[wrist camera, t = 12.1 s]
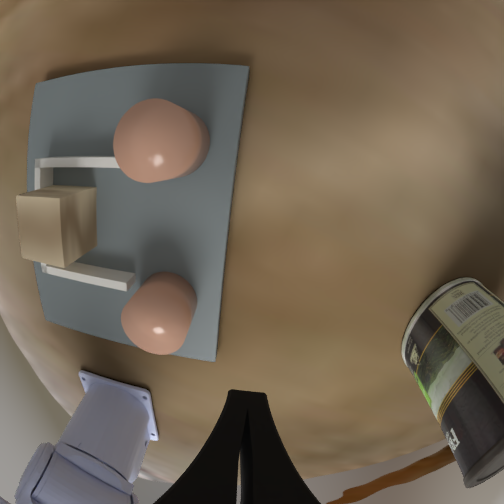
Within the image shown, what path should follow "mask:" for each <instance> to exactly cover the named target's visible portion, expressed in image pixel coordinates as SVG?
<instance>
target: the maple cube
mask: <svg viewBox="0 0 504 504" xmlns="http://www.w3.org/2000/svg"><path fill="white" fill-rule="evenodd" d="M96 195H97V187H86V186H66V185H52V186H48V187H44V188H41V189H37V190H33V191H30V192H27V193H23V194H20V195H17V196H16V205H17V220H18V231H19V240H20V248H21V255H22V258H25V259H28V260H32V261H36V262H41V263H45V264H49V265H53V266H57V267H62V268H66V267H67V266H68V265H70V264H71V263H73V262H74V261H76V260H77V259H78V258H80V257H81V256H83V255H84V254H86V253H87V252H89V251H90V250H92V249H93V248H95V247H96V246H97V219H96Z"/></svg>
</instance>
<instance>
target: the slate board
mask: <svg viewBox="0 0 504 504" xmlns="http://www.w3.org/2000/svg"><path fill="white" fill-rule="evenodd" d="M249 72H250V70H249V66H241V65H228V64H207V63H169V64H148V65H135V66H125V67H116V68H109V69H102V70H95V71H89V72H84V73H78V74H73V75H69V76H64V77H60V78H55V79H51V80H47V81H44V82H40V83H36V86H35V91H34V97H33V104H32V111H31V119H30V128H29V139H28V156H27V192H30V191H33V190H35V159H39V158H46V157H67V156H115V155H114V149H113V140H114V134H115V130H116V128H117V125H118V123H119V121H120V120H121V118H122V116H123V115H124V114H125V113H126V112H127V111H128V110H129V109H130V108H131V107H132V106H134V105H135V104H137V103H139V102H141V101H144V100H147V99H153V98H158V99H164V100H167V101H170V102H172V103H174V104H176V105H178V106H180V107H182V108H184V109H186V110H188V111H190V112H192V113H194V114H196V115H197V116H199V117H200V118H201V119H202V120H203V122H204V123H205V125H206V126H207V129H208V132H209V136H210V146H209V151H208V154H207V157H206V159H205V160H204V162H203V163H202V165H201V166H200V167H199V168H198V169H197V170H196V171H194V172H193V173H191V174H189V175H187V176H184V177H180V178H174V179H169V180H163V181H158V182H153V183H142V182H138V181H135V180H133V179H131V178H130V177H128V176H127V175H126V174H125V173H124V172H123V171H122V170H121V169H120V168H99V167H53V185H66V186H86V187H97V195H96V219H97V246H96V247H95V248H93V249H92V250H90V251H89V252H87V253H86V254H84V255H83V256H81V257H80V258H78V259H77V260H76V261H74V262H77V263H82V264H87V265H92V266H97V267H103V268H108V269H114V270H119V271H125V272H130V273H135V276H136V282H135V283H134V284H133V285H132V286H131V287H130V289H129V290H128V291H122V290H117V289H112V288H108V287H103V286H98V285H94V284H89V283H85V282H80V281H76V280H72V279H68V278H63V277H59V276H55V275H51V274H47V273H43V272H42V268H41V262H36V261H33V262H34V268H35V274H36V279H37V285H38V290H39V294H40V299H41V303H42V307H43V311H44V315H45V319H46V320H47V321H50V322H53V323H55V324H58V325H61V326H64V327H67V328H70V329H74V330H77V331H80V332H83V333H86V334H90V335H93V336H97V337H100V338H104V339H107V340H111V341H115V342H119V343H123V344H127V345H131V346H135V347H138V346H137V345H135V344H134V343H133V342H132V341H131V340H130V339H129V338H128V336H127V335H126V333H125V332H124V329H123V327H122V323H121V313H122V310H123V308H124V306H125V305H126V304H127V302H128V301H129V300H130V299H131V297H132V296H133V295H134V294H135V292H136V291H137V290H138V289H139V287H140V286H141V285H142V284H143V283H144V281H145V280H146V279H147V278H148V277H149V276H151V275H152V274H154V273H157V272H171V273H175V274H177V275H179V276H181V277H183V278H184V279H185V280H187V281H188V282H189V283H190V285H191V286H192V287H193V289H194V291H195V293H196V296H197V309H196V312H195V314H194V317H193V319H192V322H191V325H190V327H189V330H188V333H187V335H186V338H185V341H184V343H183V345H182V346H181V347H180V348H179V349H178V350H177V351H175V352H173V353H170V354H171V355H177V356H182V357H187V358H193V359H199V360H205V361H211V362H215V360H216V355H217V346H218V334H219V322H220V311H221V301H222V290H223V280H224V270H225V260H226V251H227V241H228V232H229V223H230V215H231V206H232V197H233V189H234V181H235V173H236V165H237V157H238V149H239V142H240V134H241V127H242V120H243V113H244V106H245V99H246V92H247V85H248V78H249Z"/></svg>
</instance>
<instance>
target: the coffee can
mask: <svg viewBox="0 0 504 504" xmlns="http://www.w3.org/2000/svg"><path fill="white" fill-rule="evenodd" d="M402 357H403V360H404V362H405V364H406V366H407V367H408V368H409V370H410V371H411V373H412V375H413V376H414V378H415V380H416V382H417V383H418V385H419V387H420V389H421V390H422V392H423V394H424V396H425V398H426V400H427V402H428V403H429V405H430V407H431V409H432V411H433V413H434V415H435V417H436V419H437V421H438V423H439V425H440V427H441V429H442V431H443V433H444V435H445V437H446V439H447V441H448V443H449V446H450V448H451V450H452V452H453V454H454V456H455V459H456V461H457V463H458V465H459V467H460V469H461V472H462V474H463V477H464V479H463V481H464V484H465V487H466V488H471V487H474V486H477V485H479V484H481V483H483V482H485V481H486V480H488V479H490V478H491V477H493V476H494V475H496V474H497V473H499V472H500V471H502V470H503V469H504V302H503V301H502V300H500V299H499V298H498V297H497V296H495V295H494V294H493V293H492V292H490V291H489V290H488V289H487V288H485V287H484V286H483V285H482V283H481V282H479V281H478V280H476V279H474V278H468V277H465V278H459V279H456V280H453V281H451V282H449V283H447V284H445V285H443V286H442V287H440V288H439V289H438V290H436V291H435V292H434V293H433V294H432V295H431V296H430V297H429V298H428V299H426V300H425V301H424V302H423V304H422V305H421V307H420V308H419V309H418V310H417V312H416V313H415V314H414V316H413V317H412V319H411V321H410V323H409V325H408V327H407V329H406V331H405V334H404V337H403V341H402Z"/></svg>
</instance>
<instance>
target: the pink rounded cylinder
mask: <svg viewBox="0 0 504 504" xmlns="http://www.w3.org/2000/svg"><path fill="white" fill-rule="evenodd" d="M196 309H197V296H196V293H195V291H194V289H193V287H192V286H191V285H190V283H189V282H188V281H187V280H185V279H184V278H183V277H181V276H179V275H177V274H175V273H171V272H157V273H154V274H152V275H151V276H149V277H148V278H147V279H146V280H145V281H144V283H143V284H142V285H141V286H140V287H139V289H138V290H137V291H136V292H135V294H134V295H133V296H132V297H131V299H130V300H129V301H128V302H127V304H126V305H125V306H124V308H123V310H122V313H121V323H122V327H123V329H124V332H125V333H126V335H127V336H128V338H129V339H130V340H131V341H132V342H133V343H134V344H135V345H137V346H138V347H139V348H141V349H143V350H145V351H147V352H150V353H153V354H159V355H165V354H170V353H173V352H175V351H177V350H178V349H179V348H180V347H181V346H182V345H183V343H184V341H185V338H186V335H187V333H188V330H189V327H190V325H191V322H192V319H193V317H194V314H195V312H196Z"/></svg>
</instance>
